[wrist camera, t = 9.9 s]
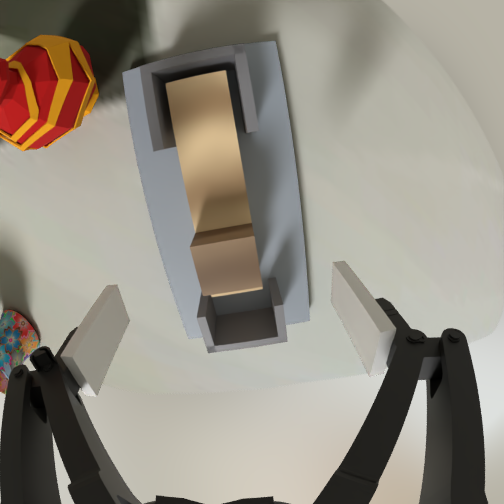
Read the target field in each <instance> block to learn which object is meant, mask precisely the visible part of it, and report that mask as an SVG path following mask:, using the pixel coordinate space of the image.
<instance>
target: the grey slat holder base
mask: <svg viewBox="0 0 504 504" xmlns="http://www.w3.org/2000/svg"><path fill="white" fill-rule="evenodd" d="M224 70H226V75H227V81H228V87H229V92H230V98H231V104H232V110H233V115H234V121H235V127H236V133H237V139H238V144H239V150H240V156H241V162H242V168H243V174H244V179H245V185H246V191H247V197H248V203H249V209H250V215H251V221H252V226H253V232H254V237H255V243H256V249H257V255H258V261H259V267H260V273H261V279H262V285H263V289H260V290H254V291H248V292H242V293H236V294H230V295H223V296H217V297H212V296H211V295H208V296H203V294H202V291H201V287H200V284H199V280H198V276H197V273H196V269H195V265H194V261H193V258H192V254H191V250H190V245H191V243H192V240H193V238H194V235H195V229H194V225H193V221H192V217H191V212H190V208H189V203H188V199H187V194H186V190H185V185H184V180H183V176H182V171H181V166H180V161H179V156H178V151H177V146H176V141H175V135H174V130H173V124H172V119H171V113H170V107H169V102H168V96H167V89H166V83H169V82H173V81H177V80H181V79H185V78H189V77H194V76H198V75H203V74H208V73H213V72H218V71H224ZM123 81H124V89H125V96H126V103H127V109H128V115H129V121H130V127H131V133H132V138H133V144H134V149H135V154H136V159H137V163H138V168H139V173H140V177H141V182H142V186H143V190H144V194H145V199H146V203H147V207H148V211H149V215H150V218H151V222H152V226H153V230H154V233H155V237H156V241H157V244H158V248H159V251H160V255H161V258H162V261H163V265H164V268H165V271H166V274H167V278H168V281H169V284H170V287H171V290H172V293H173V296H174V299H175V302H176V305H177V308H178V311H179V314H180V317H181V319H182V322H183V325H184V328H185V331H186V333H187V336H188V339H193V338H202V337H203V339H204V342H205V345H206V348H207V351H208V353H213V352H221V351H229V350H237V349H244V348H251V347H258V346H264V345H270V344H276V343H282V342H287V332H286V325H289V324H295V323H300V322H305V321H310V314H309V297H308V282H307V269H306V256H305V245H304V234H303V223H302V214H301V204H300V195H299V187H298V178H297V170H296V162H295V155H294V147H293V140H292V133H291V127H290V120H289V114H288V107H287V101H286V95H285V89H284V83H283V78H282V72H281V67H280V61H279V56H278V51H277V46H276V41H266V42H256V43H247V44H244V43H242V44H235V45H228V46H222V47H216V48H210V49H205V50H200V51H195V52H191V53H186V54H182V55H178V56H174V57H170V58H166V59H162V60H159V61H155V62H152V63H149V64H145V65H142V66H140V67H138V68H135V69H132V70H129V71H126V72H123Z"/></svg>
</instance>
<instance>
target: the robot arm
mask: <svg viewBox="0 0 504 504" xmlns="http://www.w3.org/2000/svg"><path fill="white" fill-rule="evenodd" d="M331 302H332V304H333V306H334V308H335V310H336V312H337V314H338V316H339V318H340V319H341V321H342V323H343V325H344V327H345V329H346V331H347V333H348V335H349V337H350V339H351V341H352V343H353V345H354V347H355V349H356V351H357V353H358V355H359V357H360V359H361V361H362V363H363V365H364V367H365V369H366V371H367V373H368V375H369V377H371V376H375V375H379V374H382V373H384V371H385V368H386V365H387V366H388V371H387V373H386V376H385V378H384V380H383V383H382V385H381V387H380V390H379V392H378V394H377V396H376V399H375V401H374V403H373V405H372V407H371V409H370V411H369V414H368V416H367V418H366V420H365V422H364V424H363V425H362V427H361V429H360V431H359V433H358V435H357V437H356V439H355V441H354V442H353V444H352V446H351V448H350V449H349V451H348V453H347V455H346V456H345V458H344V460H343V461H342V463H341V465H340V466H339V468H338V469H337V470H336V471H335V473H334V474H333V476H332V477H331V478H330V480H329V481H328V483H327V484H326V486H325V487H324V489H323V491H322V492H321V493H320V495H319V496H318V497H317V499H316V500H315V502H314V503H313V504H369V502H370V500H371V498H372V497H373V495H374V493H375V491H376V489H377V487H378V482H379V479H380V477H381V475H382V473H383V471H384V469H385V467H386V465H387V462H388V460H389V458H390V456H391V454H392V451H393V449H394V446H395V444H396V442H397V440H398V437H399V435H400V432H401V429H402V427H403V424H404V421H405V418H406V416H407V413H408V410H409V407H410V404H411V401H412V398H413V395H414V392H415V388H416V385H417V381H418V380H426V384H427V436H426V452H425V464H424V465H425V466H424V474H423V482H422V489H421V495H420V502H419V504H488V501H487V498H486V495H485V491H484V490H485V451H484V436H483V425H482V415H481V408H480V401H479V395H478V389H477V383H476V378H475V373H474V369H473V364H472V360H471V355H470V351H469V347H468V343H467V339H466V337H465V335H464V334H463V333H462V332H461V331H460V330H457V329H453V328H449V329H446V330H444V331H443V333H442V335H441V337H437V338H427V337H426V335H425V334H424V333H423V332H421V331H419V330H415V329H411V328H410V327H409V325H408V324H407V323H406V321H405V320H404V319H403V318H402V316H401V315H400V314H399V313H398V311H397V310H396V309H395V307H394V306H393V305H392V304H391V303H390V302H389V301H387V300H386V299H384V298H379V299H374V298H373V296H372V295H371V294H370V292H369V291H368V290H367V288H366V287H365V286H364V285H363V283H362V282H361V281H360V279H359V278H358V277H357V276H356V274H355V273H354V272H353V271H352V269H351V268H350V267H349V265H348V264H347V263H346V262H345V261H339V262H333V270H332V292H331ZM129 322H130V320H129V317H128V314H127V311H126V309H125V306H124V303H123V300H122V297H121V294H120V292H119V289H118V286H117V285H108V286H106V288H105V289H104V290H103V292H102V293H101V295H100V296H99V298H98V299H97V300H96V302H95V303H94V305H93V306H92V308H91V309H90V311H89V312H88V313H87V315H86V316H85V318H84V319H83V321H82V322H81V324H80V325H79V327H76V328H75V329H74V330H72V331H71V332H70V333H69V335H68V336H67V338H66V340H65V341H64V343H63V345H62V346H61V347H60V349H59V351H58V352H57V354H56V355H55V357H54V355H53V354H52V352H51V350H50V348H49V347H47V346H42V347H39V348H37V349H36V350H34V351H33V352H32V354H31V356H30V361H31V362H32V364H33V366H34V367H35V369H36V370H35V371H29V370H28V368H27V367H26V365H23V364H22V365H18V366H16V367H14V368H13V370H12V371H11V372H10V375H9V380H8V385H7V391H6V397H5V403H4V410H3V419H2V428H1V442H0V491H1V504H61V500H60V495H59V490H58V484H57V477H56V470H55V461H54V451H53V439H52V432H53V435H54V438H55V442H56V445H57V447H58V450H59V453H60V456H61V458H62V461H63V464H64V466H65V469H66V471H67V473H68V476H69V478H70V480H71V484H69V485H68V490H69V492H70V495H71V497H72V499H73V501H74V503H75V504H142V503H141V502H140V501H139V500H138V499H137V498H136V497H135V496H134V495H133V494H132V492H131V491H130V489H129V488H128V486H127V485H126V483H125V482H124V480H123V479H122V477H121V475H120V474H119V472H118V470H117V469H116V467H115V465H114V464H113V462H112V460H111V459H110V457H109V455H108V453H107V451H106V450H105V448H104V446H103V444H102V442H101V440H100V438H99V436H98V434H97V432H96V430H95V428H94V426H93V424H92V422H91V420H90V418H89V415H88V413H87V411H86V409H85V406H84V404H83V402H82V399H81V397H80V396H79V394H78V391H79V388H81V390H82V391H83V393H84V394H85V395H89V396H97V395H98V393H99V390H100V388H101V385H102V383H103V380H104V378H105V375H106V373H107V371H108V368H109V366H110V364H111V361H112V359H113V357H114V354H115V352H116V350H117V348H118V345H119V343H120V341H121V339H122V337H123V334H124V332H125V330H126V328H127V326H128V324H129ZM145 504H203V503H199V502H195V501H191V500H188V499H184V498H176V497H164V496H156V501H152V502H148V503H145ZM223 504H289V503H284V502H276V501H274V500H273V496H272V497H261V498H247V499H240V500H237V501H232V502H228V503H223Z"/></svg>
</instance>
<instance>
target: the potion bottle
mask: <svg viewBox="0 0 504 504" xmlns="http://www.w3.org/2000/svg"><path fill="white" fill-rule="evenodd" d="M98 96H99V92H98V88H97V83H96V79H95V77H94V74H93V70H92V65H91V60H90V55H89V53H88V52H87V51H86V50H85V49H84V47H83V46H80V45H79V43H78V42H77V41H74V40H71V39H68V38H65V37H60V36H53V35H40V36H38V37H36V38H34V39H33V40H31V41H29V42H28V43H26V44H25V45H24V46H22V47H21V48H20V49H19V50H18V51H16V52H15V53H14V54H12V55H11V56H10V57H8V58H7V59H6V60H5V59H1V58H0V137H1V138H3V139H4V140H6V141H7V142H9V143H10V144H12V145H14V146H15V147H17V148H18V149H20V150H22V151H25V150H29V149H39V148H41V147H44V148H47V147H49V146H50V145H51V144H53V143H54V142H56V141H57V140H58V139H60V138H61V137H63V136H64V135H66V134H68V133H69V132H71V131H72V130H74V129H76V128H77V127H79V126H81V123H82V119H83V117H84V116H85V115H87V114H89V113H91V110H92V108H93V106H94V104H95V102H96V100H97V98H98ZM2 135H4V136H6V137H7V138H6V137H4V136H2ZM58 137H59V138H58ZM8 138H9V139H8ZM57 138H58V139H57ZM10 139H11V140H10ZM55 139H56V140H55ZM54 140H55V141H54ZM52 141H53V142H52Z"/></svg>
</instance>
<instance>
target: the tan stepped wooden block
mask: <svg viewBox="0 0 504 504" xmlns="http://www.w3.org/2000/svg"><path fill="white" fill-rule="evenodd" d="M166 89H167V96H168V102H169V107H170V113H171V119H172V124H173V130H174V135H175V141H176V146H177V151H178V156H179V161H180V166H181V171H182V176H183V180H184V185H185V190H186V194H187V199H188V203H189V208H190V212H191V217H192V221H193V225H194V229H195V235H194V238H193V240H192V243H191V245H190V250H191V254H192V258H193V261H194V265H195V269H196V273H197V276H198V280H199V284H200V287H201V291H202V294H203V296H208V295H211V296H212V297H217V296H223V295H230V294H236V293H242V292H248V291H254V290H260V289H263V285H262V279H261V273H260V267H259V261H258V255H257V249H256V243H255V237H254V232H253V226H252V221H251V215H250V209H249V203H248V197H247V191H246V185H245V179H244V174H243V168H242V162H241V156H240V150H239V144H238V139H237V133H236V127H235V121H234V115H233V110H232V104H231V98H230V92H229V87H228V81H227V75H226V70H224V71H218V72H213V73H208V74H203V75H198V76H194V77H189V78H185V79H181V80H177V81H173V82H169V83H166Z"/></svg>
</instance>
